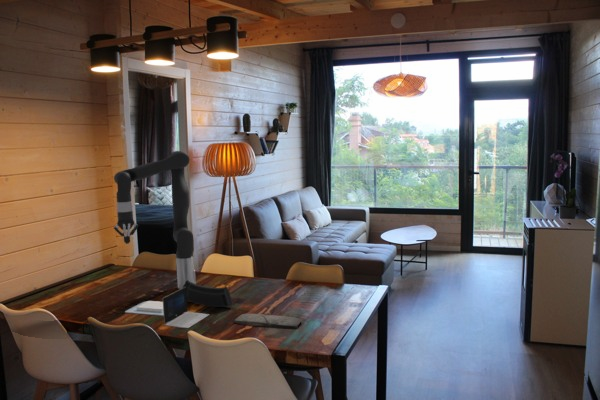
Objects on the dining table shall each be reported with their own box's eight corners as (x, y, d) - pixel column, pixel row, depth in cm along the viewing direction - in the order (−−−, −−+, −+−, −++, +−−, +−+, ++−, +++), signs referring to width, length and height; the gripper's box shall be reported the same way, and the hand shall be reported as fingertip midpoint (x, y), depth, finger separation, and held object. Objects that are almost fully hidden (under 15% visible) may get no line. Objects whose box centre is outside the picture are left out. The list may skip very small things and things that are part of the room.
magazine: (236, 290, 255) (188, 267, 267) (232, 292, 252) (184, 268, 264) (229, 321, 259) (183, 297, 271) (225, 323, 256) (178, 299, 268)
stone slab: (296, 325, 225) (233, 317, 235) (296, 332, 225) (233, 324, 235) (304, 317, 234) (243, 309, 244) (304, 324, 235) (243, 316, 245)
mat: (124, 312, 254) (124, 311, 254) (144, 302, 269) (144, 301, 269) (163, 315, 248) (162, 314, 248) (180, 304, 263) (180, 304, 263)
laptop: (187, 329, 231) (186, 300, 229) (164, 326, 235) (162, 298, 234) (209, 315, 247) (208, 288, 245) (186, 313, 252) (185, 286, 250)
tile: (136, 307, 255) (161, 309, 251) (148, 300, 265) (172, 302, 261) (136, 310, 256) (162, 312, 251) (148, 303, 265) (173, 305, 261)
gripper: (112, 212, 266) (115, 246, 268) (139, 210, 272) (141, 243, 274) (110, 210, 272) (112, 243, 275) (136, 208, 278) (139, 240, 281)
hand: (127, 243), depth 274 cm, fingers closed
